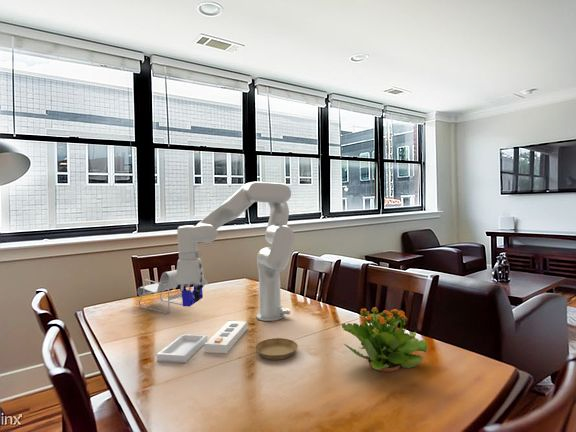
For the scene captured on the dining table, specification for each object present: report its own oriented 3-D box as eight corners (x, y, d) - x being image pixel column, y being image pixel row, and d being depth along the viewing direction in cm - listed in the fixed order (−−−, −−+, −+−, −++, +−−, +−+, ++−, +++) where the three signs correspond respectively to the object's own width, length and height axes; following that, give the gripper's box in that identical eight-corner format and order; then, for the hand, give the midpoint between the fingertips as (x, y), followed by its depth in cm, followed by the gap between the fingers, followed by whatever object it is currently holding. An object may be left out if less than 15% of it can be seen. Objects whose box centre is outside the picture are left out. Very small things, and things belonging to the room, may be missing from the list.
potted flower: (411, 394, 96) (410, 329, 95) (330, 373, 108) (329, 316, 108) (429, 358, 117) (429, 305, 116) (360, 344, 130) (359, 296, 129)
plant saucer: (249, 349, 128) (249, 342, 128) (287, 342, 134) (287, 335, 134) (263, 366, 114) (263, 358, 114) (305, 357, 120) (304, 350, 120)
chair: (170, 314, 171) (168, 273, 170) (137, 306, 184) (135, 268, 183) (191, 306, 182) (190, 268, 181) (159, 300, 195) (158, 264, 195)
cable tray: (207, 341, 135) (207, 335, 135) (185, 363, 118) (184, 355, 117) (182, 340, 137) (182, 334, 137) (157, 361, 119) (156, 354, 119)
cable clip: (192, 297, 152) (191, 283, 152) (202, 297, 151) (201, 283, 151) (179, 306, 140) (178, 291, 140) (189, 306, 140) (188, 291, 139)
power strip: (247, 328, 148) (247, 320, 148) (226, 353, 124) (226, 343, 124) (228, 328, 149) (228, 319, 149) (205, 352, 126) (204, 342, 126)
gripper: (212, 254, 147) (214, 298, 148) (173, 255, 150) (176, 297, 151) (204, 257, 140) (207, 303, 141) (164, 258, 143) (167, 303, 144)
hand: (191, 300), depth 146 cm, fingers closed on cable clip, 4 cm apart
